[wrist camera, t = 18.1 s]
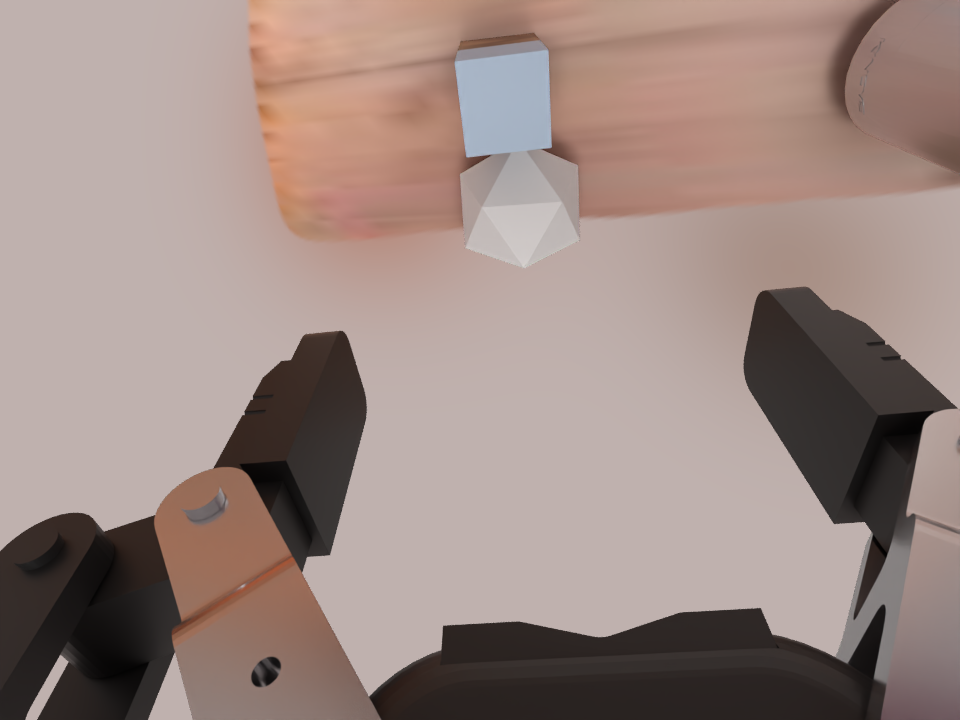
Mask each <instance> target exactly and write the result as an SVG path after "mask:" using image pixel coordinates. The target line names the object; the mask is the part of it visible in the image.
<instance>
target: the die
mask: <svg viewBox="0 0 960 720" xmlns="http://www.w3.org/2000/svg"><path fill="white" fill-rule="evenodd" d="M460 184H461V198H462V212H463V226H464V240H465V248H466V249H469V250H472V251H475V252H478V253H481V254H484V255H486V256H489V257H492V258H495V259H498V260H501V261H504V262H507V263H510V264H512V265H515V266H518V267H521V268H526V267H528V266H530V265H532V264H534V263H536V262H538V261H540V260H542V259H544V258H546V257H548V256H550V255H552V254H554V253H556V252H558V251H560V250H562V249H564V248H566V247H568V246H570V245H572V244H574V243H576V242H578V241H580V229H579V227H580V224H579V183H578V165H576V164H574V163H571V162H569V161H567V160H564V159H562V158H560V157H557V156H555V155H553V154H550V153H548V152H546V151H543V150H541V149H537V150H528V151H519V152H510V153H501V154H493V155H491V156H490V157H488V158H486V159H485V160H483V161H481V162H480V163H478V164H476V165H475V166H473V167H471V168H469V169H468V170H466V171H464V172H463V173H461V174H460Z"/></svg>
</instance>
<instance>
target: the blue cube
mask: <svg viewBox="0 0 960 720" xmlns="http://www.w3.org/2000/svg"><path fill="white" fill-rule="evenodd" d="M455 69H456V78H457V86H458V94H459V102H460V110H461V118H462V127H463V135H464V143H465V151H466V157H475V156H484V155H493V154H501V153H510V152H519V151H528V150H537V149H545V148H552V144H551V114H550V83H549V53H548V49H547V48H546V46H545V45H544V44H543V43H542V42H541V40H537V41H529V42H521V43H513V44H505V45H497V46H489V47H481V48H474V49H466V50H458V52H457V55H456V59H455Z"/></svg>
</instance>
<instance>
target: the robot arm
mask: <svg viewBox="0 0 960 720" xmlns="http://www.w3.org/2000/svg"><path fill="white" fill-rule="evenodd" d="M845 103H846V107H847V110H848V113H849V116H850V118H851V119H852V121H853V122H854V124H855V125H856V126H857V127H858V128H859V129H860V130H862V131H863V132H864V133H866V134H868V135H870V136H872V137H875V138H877V139H879V140H882V141H884V142H886V143H889V144H891V145H893V146H896V147H898V148H900V149H902V150H904V151H906V152H909V153H911V154H913V155H916V156H918V157H920V158H923V159H925V160H927V161H930V162H932V163H934V164H937V165H939V166H941V167H944V168H946V169H948V170H951V171H953V172H955V173H958V174H960V0H899V1H898V2H897V3H895V4H894V5H893V6H891V7H890V8H889V9H888V10H887V11H886V12H885V13H884V14H883V15H882V16H881V17H880V18H879V19H878V20H877V21H876V22H875V23H874V24H873V26H872V27H871V28H870V30H869V31H868V33H867V34H866V35H865V37H864V38H863V39H862V41H861V43H860V45H859V47H858V48H857V50H856V52H855V54H854V56H853V58H852V61H851V64H850V67H849V70H848V73H847V78H846V84H845ZM900 356H901V355H899V354H898V353H897V352H896V351H895V350H894V349H893V348H892V347H891V346H890V345H885V341H884V340H883V339H882V338H881V337H880V336H879V335H878V334H877V333H876V332H875V331H874V330H873V329H871V328H870V327H869V326H868V325H867V324H866V323H864V322H862V321H860V320H858V319H856V318H854V317H852V316H850V315H847V314H846V313H844V312H842V311H839V310H831V309H830V308H829V307H828V306H827V305H826V304H825V303H824V302H823V301H822V300H821V299H820V298H819V297H818V296H817V295H816V294H815V293H814V292H813V291H812V290H811V289H810V288H808V287H796V288H785V289H775V290H765V291H762V292H760V294H759V295H758V297H757V299H756V302H755V306H754V311H753V316H752V321H751V327H750V331H749V336H748V341H747V346H746V351H745V356H744V375H745V380H746V383H747V386H748V388H749V390H750V392H751V393H752V395H753V396H754V398H755V400H756V401H757V403H758V404H759V406H760V407H761V409H762V411H763V412H764V414H765V415H766V417H767V419H768V420H769V422H770V423H771V425H772V426H773V428H774V430H775V431H776V433H777V434H778V436H779V438H780V439H781V441H782V442H783V444H784V446H785V447H786V449H787V450H788V452H789V453H790V455H791V457H792V458H793V460H794V461H795V463H796V465H797V466H798V468H799V469H800V471H801V472H802V474H803V475H804V477H805V479H806V480H807V482H808V483H809V485H810V487H811V488H812V490H813V491H814V493H815V495H816V496H817V498H818V499H819V501H820V503H821V504H822V506H823V507H824V509H825V510H826V512H827V514H828V515H829V517H830V518H831V520H832V521H833V523H834V524H840V523H855V522H865V523H866V524H867V526H868V527H869V529H870V530H871V532H872V533H871V535H870V537H869V539H868V541H867V544H866V547H865V550H864V555H863V558H862V562H861V566H860V570H859V574H858V578H857V583H856V586H855V590H854V595H853V599H852V603H851V607H850V611H849V615H848V619H847V623H846V627H845V631H844V634H843V638H842V641H841V644H840V647H839V649H838V652H837V654H836V657H833V656H832V655H830V654H828V653H826V652H823V651H821V650H819V649H816V648H813V647H811V646H809V645H807V644H804V643H801V642H798V641H795V640H791V639H788V638H785V637H781V636H777V635H772V633H771V631H770V629H769V626H768V624H767V622H766V619H765V617H764V615H763V613H762V610H761V608H756V609H738V610H719V611H701V612H683V613H678V614H675V615H672V616H669V617H666V618H663V619H660V620H656V621H653V622H651V623H647V624H644V625H641V626H639V627H635V628H632V629H630V630H627V631H623V632H621V633H618V634H614V635H612V636H608V637H592V636H587V635H582V634H577V633H572V632H567V631H563V630H558V629H553V628H548V627H543V626H538V625H533V624H528V623H523V622H503V623H484V624H466V625H448V626H443V637H442V650H441V651H438V652H435V653H432V654H430V655H427V656H425V657H423V658H421V659H419V660H417V661H415V662H413V663H411V664H410V665H408V666H407V667H405V668H403V669H402V670H400V671H399V672H397V673H396V674H394V675H393V676H392V677H391V678H389V679H388V680H387V681H386V682H384V683H383V684H382V685H381V686H380V687H378V688H377V690H376V691H374V692H373V694H372V695H370V696H368V694H367V692H366V691H365V689H364V687H363V685H362V683H361V681H360V680H359V678H358V676H357V674H356V672H355V670H354V669H353V667H352V665H351V663H350V661H349V659H348V657H347V656H346V654H345V652H344V650H343V648H342V646H341V645H340V643H339V641H338V639H337V637H336V635H335V633H334V631H333V630H332V628H331V626H330V624H329V622H328V621H327V619H326V617H325V615H324V613H323V611H322V610H321V607H320V606H319V604H318V602H317V600H316V598H315V596H314V595H313V593H312V591H311V589H310V587H309V585H308V583H307V582H306V580H305V578H304V576H303V574H302V571H303V568H304V565H305V562H306V558H307V557H310V556H325V555H330V553H331V549H332V545H333V542H334V538H335V534H336V530H337V526H338V523H339V519H340V515H341V511H342V507H343V504H344V500H345V496H346V493H347V489H348V485H349V481H350V477H351V474H352V470H353V466H354V462H355V459H356V455H357V451H358V447H359V444H360V440H361V436H362V432H363V429H364V425H365V421H366V413H367V412H366V411H367V406H366V396H365V392H364V388H363V385H362V382H361V378H360V375H359V372H358V369H357V365H356V362H355V359H354V356H353V353H352V349H351V346H350V343H349V340H348V338H347V336H346V334H345V333H344V332H343V331H335V332H324V333H315V334H306V335H304V336H303V337H302V339H301V341H300V343H299V345H298V347H297V349H296V351H295V353H294V355H293V357H292V359H291V360H289V361H281V362H280V363H279V364H278V365H277V366H276V367H274V369H272V370H271V371H270V372H269V373H268V374H267V375H266V376H264V377H263V379H262V380H261V382H260V384H259V386H258V388H257V389H256V392H255V393H254V395H253V400H250V403H249V404H248V406H247V408H246V410H245V415H243V416H242V417H241V419H240V421H239V422H238V424H237V426H236V428H235V430H234V432H233V434H232V435H231V437H230V439H229V441H228V443H227V444H226V446H225V448H224V450H223V452H222V454H221V455H220V457H219V459H218V461H217V463H216V465H215V466H214V468H213V469H210V470H207V471H204V472H201V473H199V474H196V475H194V476H192V477H190V478H189V479H187V480H186V481H184V482H182V483H181V484H179V485H178V486H177V487H176V488H175V489H173V490H172V491H171V492H170V493H169V494H168V495H167V496H166V497H165V499H164V500H163V501H162V503H161V504H160V506H159V508H158V509H157V512H156V515H154V516H151V517H148V518H145V519H142V520H139V521H136V522H133V523H129V524H126V525H124V526H120V527H117V528H114V529H111V530H108V531H105V532H104V531H103V530H102V529H101V528H100V527H99V525H98V524H97V523H96V522H95V521H94V520H93V518H92V517H90V516H89V515H86V514H83V513H68V514H62V515H59V516H55V517H52V518H49V519H47V520H45V521H42V522H40V523H38V524H36V525H34V526H33V527H31V528H29V529H28V530H26V531H24V532H23V533H21V534H20V535H19V536H17V537H16V538H15V539H14V540H12V541H11V542H10V543H8V544H7V545H6V546H5V547H4V548H3V549H2V550H1V551H0V720H25V719H26V716H27V713H28V711H29V709H30V707H31V705H32V704H33V702H34V700H35V698H36V696H37V695H38V693H39V691H40V689H41V688H42V686H43V684H44V682H45V681H46V679H47V677H48V675H49V674H50V672H51V670H52V668H53V667H54V665H55V663H56V661H57V659H58V658H59V656H60V655H62V656H63V657H64V658H65V659H66V660H67V661H69V663H68V664H67V666H66V668H65V670H64V672H63V674H62V675H61V677H60V679H59V681H58V683H57V684H56V686H55V688H54V690H53V692H52V694H51V695H50V697H49V699H48V701H47V703H46V705H45V706H44V708H43V710H42V712H41V714H40V715H39V717H38V719H37V720H148V718H149V715H150V713H151V710H152V708H153V705H154V703H155V700H156V698H157V695H158V693H159V690H160V688H161V685H162V683H163V680H164V677H165V675H166V673H167V670H168V668H169V665H170V663H171V660H172V658H173V655H174V653H176V657H177V661H178V665H179V669H180V672H181V676H182V680H183V684H184V687H185V691H186V695H187V699H188V703H189V706H190V710H191V713H192V718H193V720H960V409H958V408H957V407H956V406H955V405H953V404H952V403H951V402H950V401H949V400H948V399H947V398H946V397H945V396H944V395H943V394H942V393H941V392H939V391H938V390H937V389H936V388H935V387H934V386H933V385H932V384H931V383H930V382H929V381H927V380H926V379H925V378H924V377H923V376H922V375H921V374H920V373H919V372H918V371H917V370H916V369H915V368H913V367H912V366H911V365H910V364H909V363H908V362H907V361H906V360H905V359H903V360H901V358H900Z"/></svg>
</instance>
